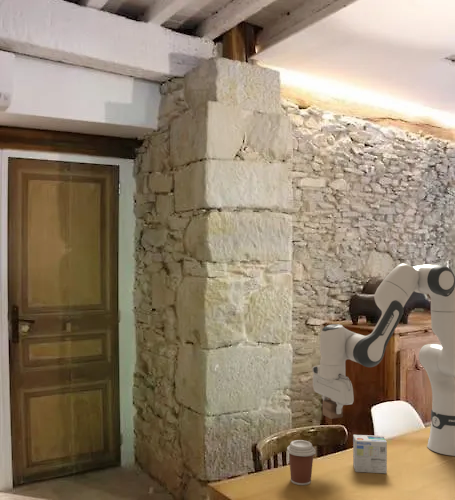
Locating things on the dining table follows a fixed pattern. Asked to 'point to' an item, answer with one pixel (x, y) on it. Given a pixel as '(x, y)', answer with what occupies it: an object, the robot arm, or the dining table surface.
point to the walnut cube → (331, 409)
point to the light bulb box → (369, 454)
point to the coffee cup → (301, 461)
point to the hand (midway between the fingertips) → (332, 411)
